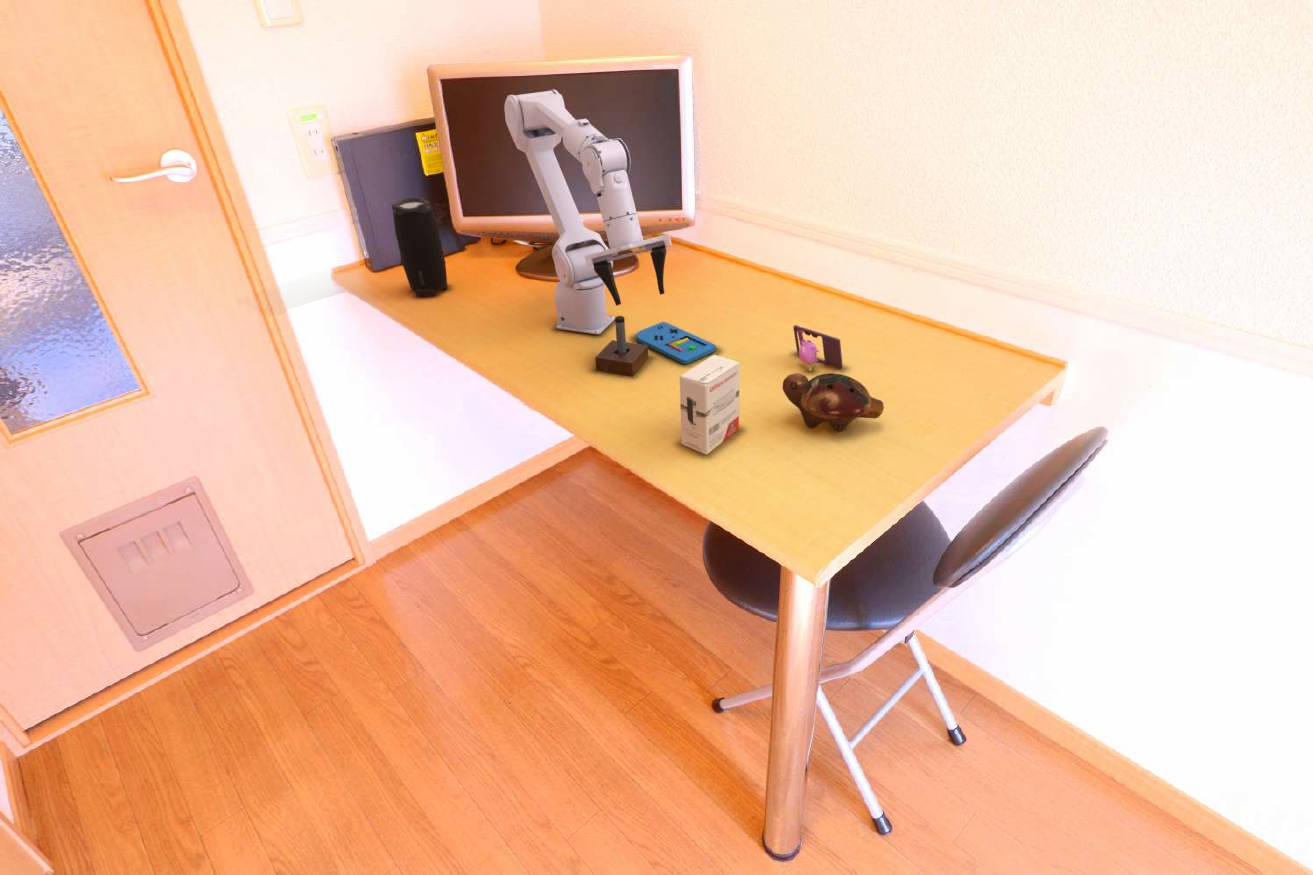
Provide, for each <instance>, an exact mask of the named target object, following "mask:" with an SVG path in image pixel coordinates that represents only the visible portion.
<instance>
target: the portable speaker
mask: <svg viewBox="0 0 1313 875" xmlns="http://www.w3.org/2000/svg"><path fill="white" fill-rule="evenodd" d="M391 210H392V216H393V224H394V233H395V238H396V241H397V246H398V250H399V254H400V258H401V263H402V267H403V270H404V273H405V275H406V279H407V281H408V284H409V287H410V289H411V291H413V293H414V294H415V295H416V296H417V297H419V298H431V297H436V294H437V293H438V292H440V291H442V290H444V291H447V290H448V276H447V266H446V258H445V254H444V250H443V249H444V248H443V244H442V239H441V234H440V230H439V226H438V222H437V219H436V217H435V213H434V210H433V207H432V204H431V201H430V200H427V199H425V198H422V197H420V196H410V197H406V198H402V199H401V200H400V201H398V202H395V203H392V204H391Z"/></svg>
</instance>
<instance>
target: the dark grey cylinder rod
mask: <svg viewBox="0 0 1313 875" xmlns="http://www.w3.org/2000/svg"><path fill="white" fill-rule="evenodd" d="M614 317H615V320H614V325H615V337H616V339H615V340H616V341H617V353H618V354H620V355H626V354H627V353H626V342H627V339H626V337H627V336H626V323H625V320H626V318H625V317H624V316H623V315H618V316H614Z"/></svg>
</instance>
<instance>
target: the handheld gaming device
mask: <svg viewBox="0 0 1313 875" xmlns="http://www.w3.org/2000/svg"><path fill="white" fill-rule="evenodd" d="M635 335H636V336H635V337H636V338H635V339H636V341H637V342H638V343H639V344H641V345H648V348H650V349H652V350H654V351H656V352H658V353H660V354H662V355H664V356H666V357H668V358H669V359H672V360H674V361H676V362H678V363H680V364H683V365H689V364H691V363H693V362H695V361H696V360H699V359H701V358H703V357H706V356H708V355H710V354H712V353H714V352H716V351H717V345H716V344H714V343H712V342H710V341H708V340H705V339H703V338H701V337H700V336H696V335H694V334H692V333H690V332H688V331H685V330H684V329H681V328H679V327H677V326H674V325H672V324H671V323H668V322H666V321H661V322H659V323H656V324H654V325H651V326H649V327H646V328H644V329H641V330H639V331H637V333H636V334H635Z"/></svg>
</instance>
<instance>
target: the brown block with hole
mask: <svg viewBox="0 0 1313 875" xmlns="http://www.w3.org/2000/svg"><path fill="white" fill-rule="evenodd" d="M626 353H627V354H626V355H620V354H618V353H617V340H616V339H611V340H610V342H609V343H607V345H605V346H604V348H603V349H602V350H601V351H599V353H598V354H596V356H595V357H594V361H595V370H596V371H599V372H604V373H611V374H616V375H622V376H628V377H634V376H635V375H636V374H637V372H639V370H640V369H641V368H642V367H643V365H644V364H645V363H646V362H647V361H648V360H649V347H648V345H644V344H642V343H633V342H627V341H626Z"/></svg>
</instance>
